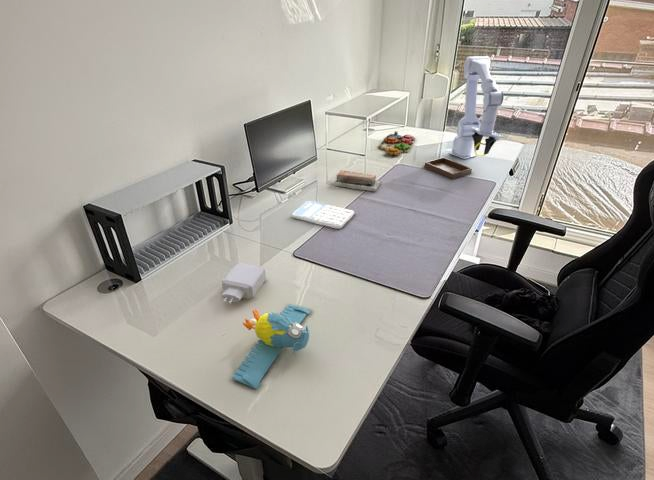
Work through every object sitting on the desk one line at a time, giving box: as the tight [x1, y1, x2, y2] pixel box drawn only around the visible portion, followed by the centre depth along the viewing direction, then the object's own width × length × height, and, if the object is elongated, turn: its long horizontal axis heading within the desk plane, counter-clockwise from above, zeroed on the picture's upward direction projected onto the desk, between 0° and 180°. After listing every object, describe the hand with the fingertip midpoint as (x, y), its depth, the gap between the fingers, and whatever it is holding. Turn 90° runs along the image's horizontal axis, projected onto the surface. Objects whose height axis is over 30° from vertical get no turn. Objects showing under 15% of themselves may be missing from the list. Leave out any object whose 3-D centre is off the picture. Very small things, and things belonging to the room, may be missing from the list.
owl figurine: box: [232, 303, 311, 390], centre depth 99 cm, size 28×9×15 cm
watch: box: [474, 140, 487, 157], centre depth 188 cm, size 6×3×6 cm, turn 76°
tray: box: [424, 156, 473, 180], centre depth 192 cm, size 17×12×2 cm
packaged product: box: [334, 170, 381, 193], centre depth 178 cm, size 18×5×10 cm
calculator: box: [291, 200, 355, 230], centre depth 155 cm, size 13×20×2 cm, turn 62°
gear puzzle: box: [378, 130, 416, 156], centre depth 217 cm, size 31×16×4 cm, turn 160°
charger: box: [220, 262, 267, 304], centre depth 117 cm, size 5×9×15 cm
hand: (481, 151), depth 189 cm, fingers closed on watch, 5 cm apart
